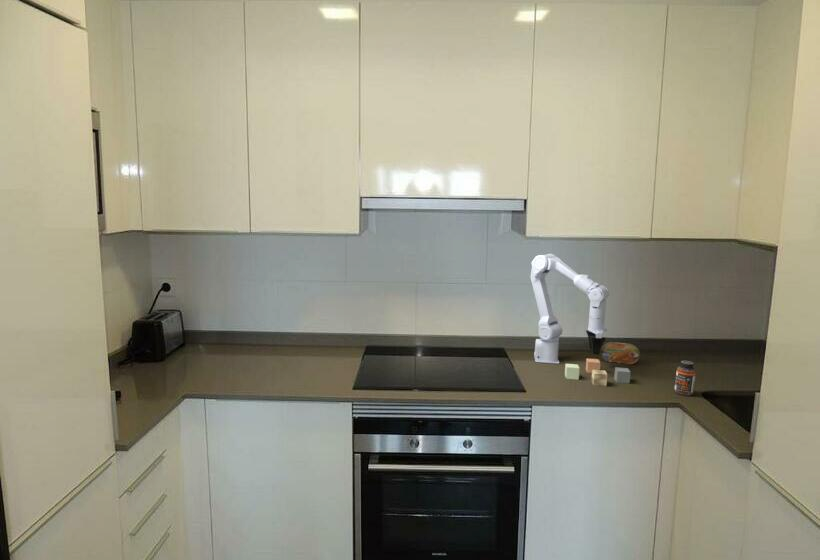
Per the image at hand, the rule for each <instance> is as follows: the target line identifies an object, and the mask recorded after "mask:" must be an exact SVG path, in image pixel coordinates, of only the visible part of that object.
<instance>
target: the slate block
mask: <svg viewBox="0 0 820 560" xmlns="http://www.w3.org/2000/svg"><path fill="white" fill-rule="evenodd" d="M613 376H614V377H613V379H614V381H615V382H616V383H619V384H628V383H630V382H631V371H630V369H629V368H628V367H618V366H617V367H614V375H613Z"/></svg>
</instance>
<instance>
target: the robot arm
mask: <svg viewBox="0 0 820 560" xmlns="http://www.w3.org/2000/svg"><path fill="white" fill-rule="evenodd" d="M551 271H554V272H555V271H557V272H558V273H560V274H561V275H563V276H565V277H566V278H567V279H569V280H570V281H572V282H573V285H574V287H575V288H577V289H578V290H579V291H581V292H582V293H583V294H585V295H586V296H587V297H588V300H589V301H590V302H589V312H588V313H589V315H588V327H587V330H585V332H586V334H587V338H588V346H589V349H590V350H591V351H592V355H594V356H595V355H597V356H598V355H600V354H601V349H602V347H603V345H604V344H605V343H604V342H606V337H603V334H604V332H608V329H607V328H605V318H606V306H607V299H608V298H609V296H610V292H609V289H608V288H607V287H606V286H605V285H602V284H601V285H600V283H599V282H595V281H594V280H593V279H591V278H590V276H589V275H588V274H584V273H582V274H579V273H578V272H576V271H575V270H574V269H572V268H571V267H570V266H568V265H567V263H566V262H563V261H562V259H561V258H560V257H559V256H556V255H555V254H554V253H548V254H539V255H536V256H535V257H534V258H533V260H532V261H531V271H530V281H531V285H532V289H533V290H532V291H533V293H534V297H535V301H536V305H537V310H538V313H539V317H540V318H539V321H538V324H537V325H538V336H539V338H536V339H535V341H534V344H535V345H534V353H533V356H534V361H535V363H544V364H558V365H559V364H560V360H559V345H560V336H561V335H562V334H563V327H562V325H561V324H560V323H559V320H558V318H557V316H556V315H555V314H554V312H553V307H552V303H551V300H550V295H549V291H548V287H547V283H546V279H545V278H546V277H547V275H548V274H549V273H550V272H551Z"/></svg>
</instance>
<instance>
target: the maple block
mask: <svg viewBox="0 0 820 560" xmlns="http://www.w3.org/2000/svg"><path fill="white" fill-rule="evenodd" d="M590 381H591V383H592V385H593V386H597V387H599V386H600V387H607V384H608V383H607V382H608V373H607V371H606V370H601V369H600V370H592V373H591V380H590Z"/></svg>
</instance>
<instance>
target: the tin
mask: <svg viewBox="0 0 820 560" xmlns="http://www.w3.org/2000/svg"><path fill="white" fill-rule="evenodd" d="M600 355H601V358H602V359H603V360H604V361H605V362H607V361H609V362H608V363H610V362H617V363H616V364H621V363H627V364H626V365H634V364H636V363H637V362H638V361H639V359H640V358H641V353H640V350H639V348H638V347H637V346H636V345H634V344H632V343H626V342H625V343H624V342H623V343H622V342H614V341H609V342H606V343H603V345H602V347H601V350H600Z"/></svg>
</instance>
